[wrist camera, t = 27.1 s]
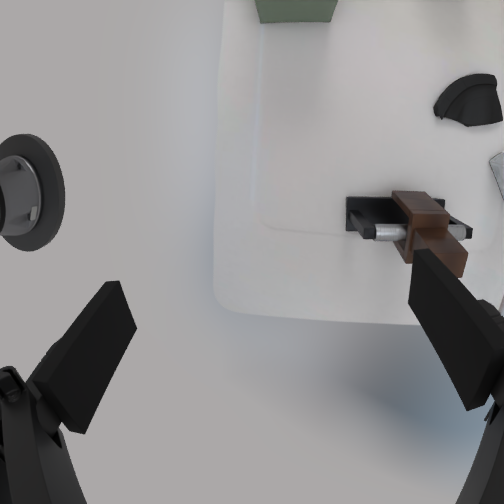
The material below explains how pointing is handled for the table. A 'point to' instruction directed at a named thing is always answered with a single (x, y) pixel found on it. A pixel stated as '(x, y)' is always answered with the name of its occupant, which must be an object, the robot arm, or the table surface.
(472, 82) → the curved wedge
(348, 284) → the table surface
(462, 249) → the brown arch stand
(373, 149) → the table surface
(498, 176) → the ink box
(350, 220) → the rail stand
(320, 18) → the plinth
